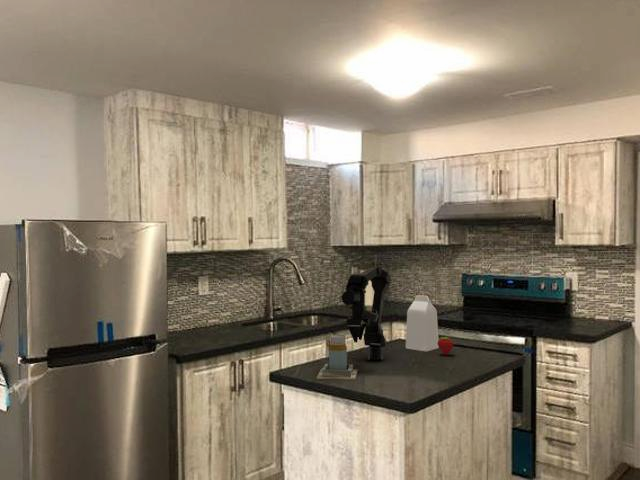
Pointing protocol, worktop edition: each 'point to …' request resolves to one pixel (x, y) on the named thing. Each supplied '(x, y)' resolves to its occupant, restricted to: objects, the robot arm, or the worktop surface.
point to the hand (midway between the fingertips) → (358, 341)
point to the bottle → (337, 353)
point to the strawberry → (445, 345)
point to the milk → (422, 325)
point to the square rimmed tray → (338, 373)
